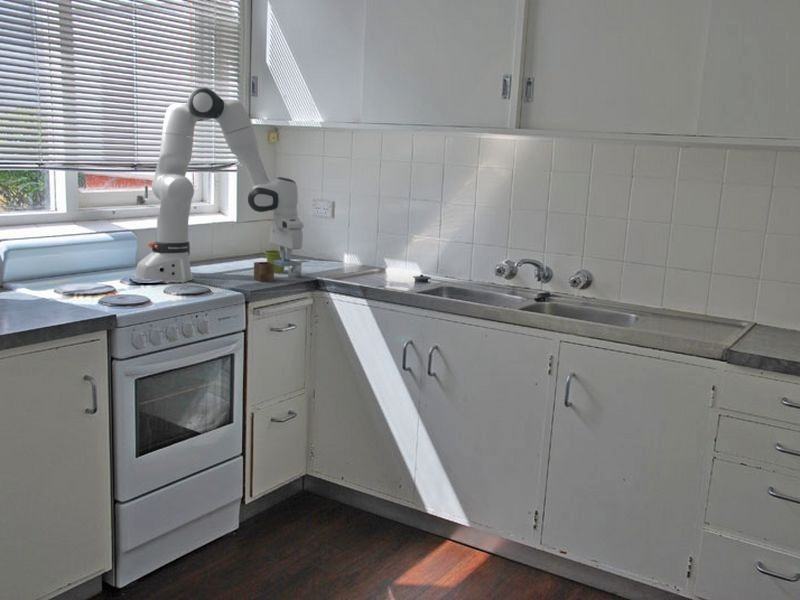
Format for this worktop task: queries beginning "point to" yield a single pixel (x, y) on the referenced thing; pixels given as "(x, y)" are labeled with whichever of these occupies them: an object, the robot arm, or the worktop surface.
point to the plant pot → (272, 256)
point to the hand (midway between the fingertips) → (285, 258)
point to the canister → (263, 271)
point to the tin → (295, 270)
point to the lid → (284, 261)
